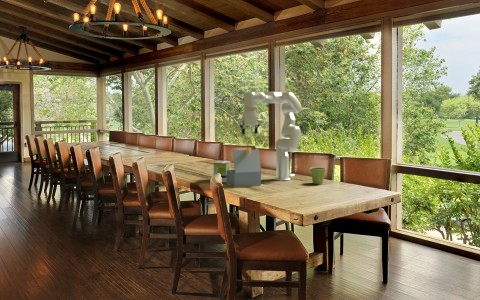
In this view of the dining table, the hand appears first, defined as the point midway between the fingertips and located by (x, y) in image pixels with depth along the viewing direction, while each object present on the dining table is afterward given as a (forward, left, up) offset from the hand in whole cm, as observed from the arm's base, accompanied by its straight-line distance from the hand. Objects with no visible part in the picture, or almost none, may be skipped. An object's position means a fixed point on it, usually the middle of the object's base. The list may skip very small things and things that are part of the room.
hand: (249, 133), depth 300 cm
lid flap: (+4, +4, -19) cm, 20 cm away
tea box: (+13, -22, -37) cm, 45 cm away
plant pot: (-49, +13, -37) cm, 62 cm away
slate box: (+4, -1, -36) cm, 37 cm away
